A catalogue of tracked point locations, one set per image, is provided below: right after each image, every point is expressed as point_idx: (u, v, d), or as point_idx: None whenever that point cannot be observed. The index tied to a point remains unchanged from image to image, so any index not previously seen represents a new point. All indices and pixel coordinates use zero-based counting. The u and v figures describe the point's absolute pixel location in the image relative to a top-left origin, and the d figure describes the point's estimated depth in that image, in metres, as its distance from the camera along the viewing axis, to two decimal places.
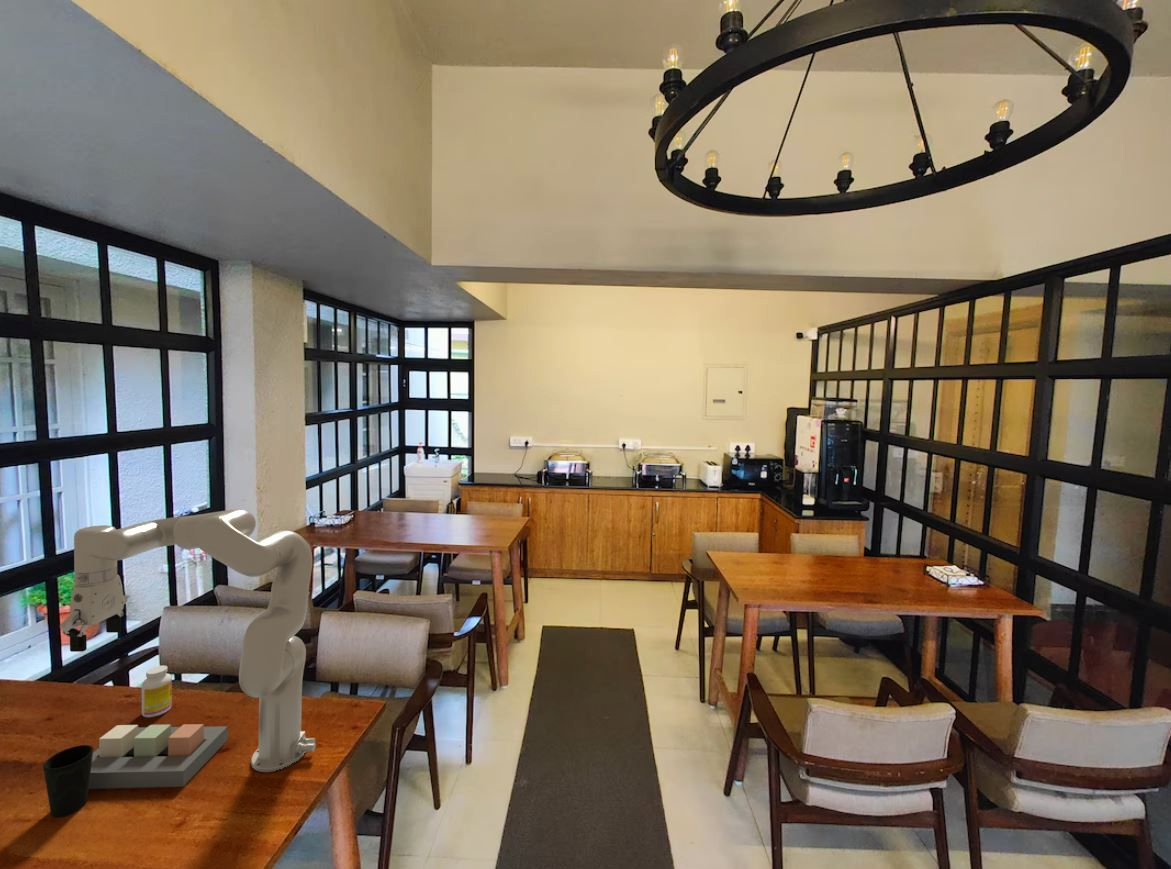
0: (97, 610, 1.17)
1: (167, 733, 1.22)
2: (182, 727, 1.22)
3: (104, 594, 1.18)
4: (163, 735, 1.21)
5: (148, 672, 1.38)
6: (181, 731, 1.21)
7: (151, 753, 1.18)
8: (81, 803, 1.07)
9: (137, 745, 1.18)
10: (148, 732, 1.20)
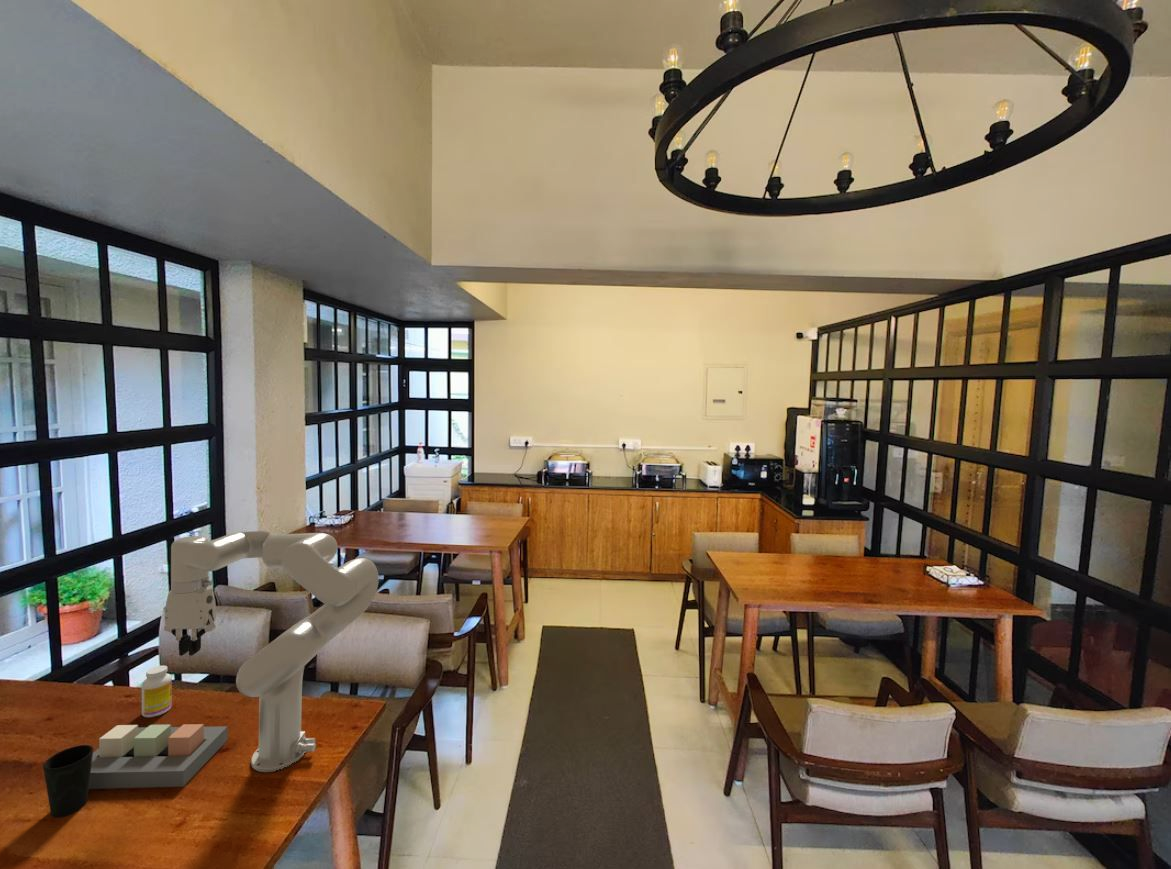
0: None
1: (167, 733, 1.22)
2: (182, 727, 1.22)
3: None
4: (163, 735, 1.21)
5: (148, 672, 1.38)
6: (181, 731, 1.21)
7: (151, 753, 1.18)
8: (81, 803, 1.07)
9: (137, 745, 1.18)
10: (148, 732, 1.20)
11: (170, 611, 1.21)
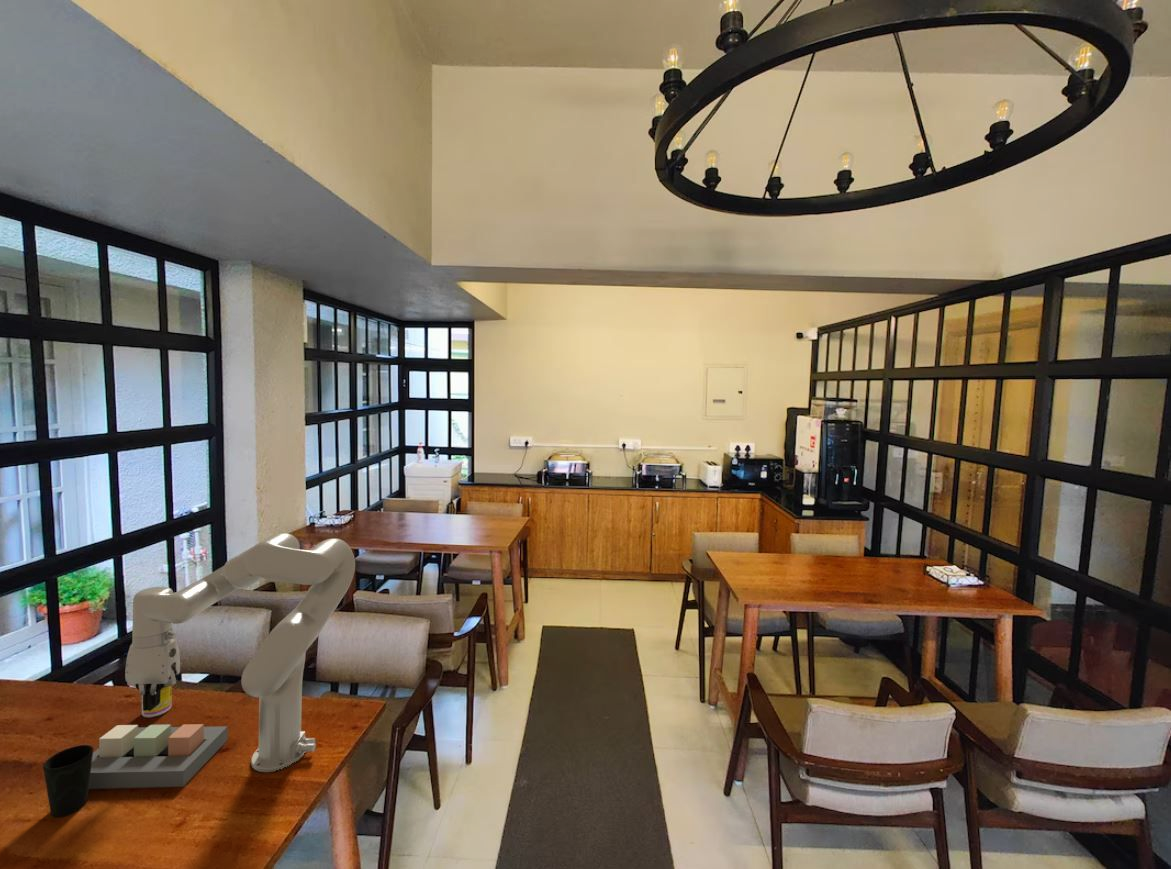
0: None
1: (167, 733, 1.22)
2: (182, 727, 1.22)
3: None
4: (163, 735, 1.21)
5: None
6: (181, 731, 1.21)
7: (151, 753, 1.18)
8: (81, 803, 1.07)
9: (137, 745, 1.18)
10: (148, 732, 1.20)
11: (131, 665, 1.17)
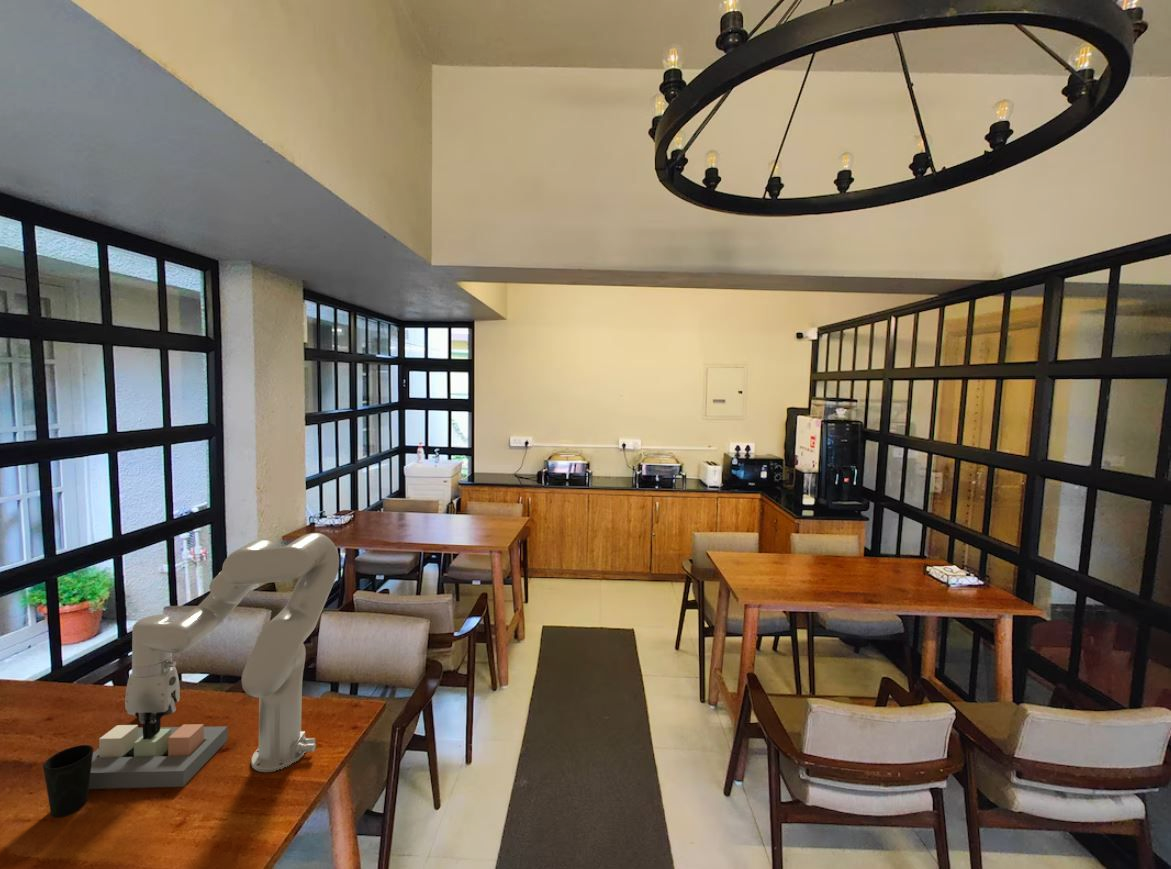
0: None
1: (167, 738, 1.22)
2: (182, 727, 1.22)
3: None
4: (163, 739, 1.21)
5: None
6: (181, 731, 1.21)
7: None
8: (81, 803, 1.07)
9: (137, 749, 1.18)
10: None
11: (131, 695, 1.17)
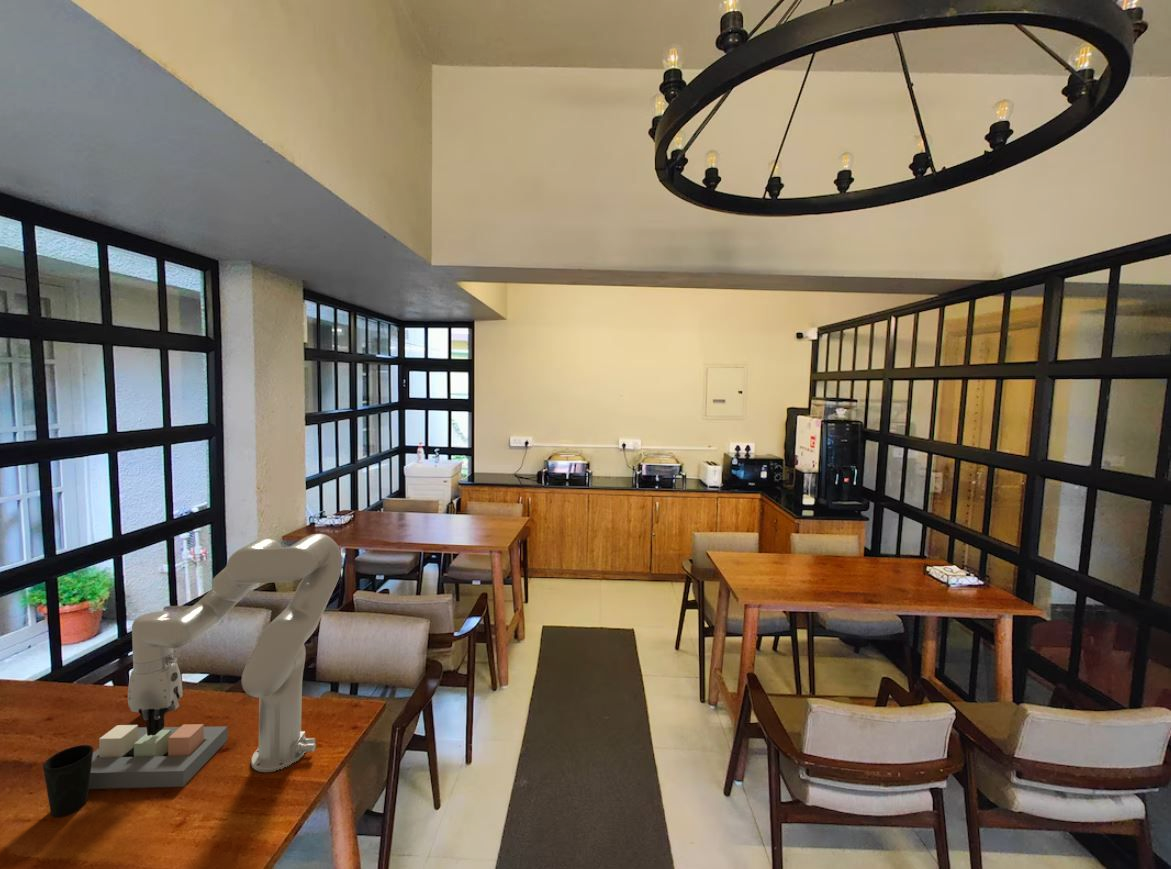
0: None
1: (167, 739, 1.22)
2: (182, 727, 1.22)
3: None
4: (163, 740, 1.21)
5: None
6: (181, 731, 1.21)
7: None
8: (81, 803, 1.07)
9: (137, 750, 1.18)
10: (148, 737, 1.20)
11: (133, 691, 1.17)
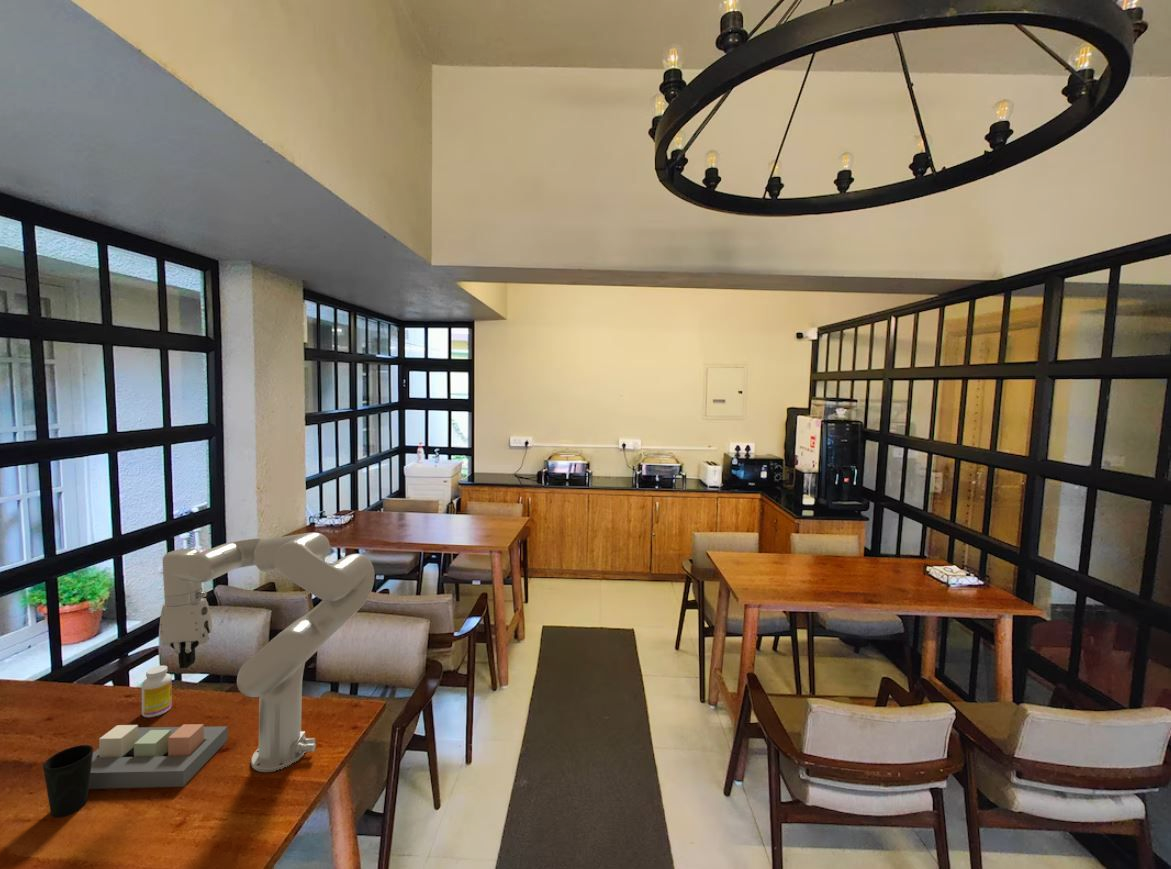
0: None
1: (167, 739, 1.22)
2: (182, 727, 1.22)
3: None
4: (163, 740, 1.21)
5: (148, 672, 1.38)
6: (181, 731, 1.21)
7: None
8: (81, 803, 1.07)
9: (137, 750, 1.18)
10: (148, 737, 1.20)
11: (165, 625, 1.21)
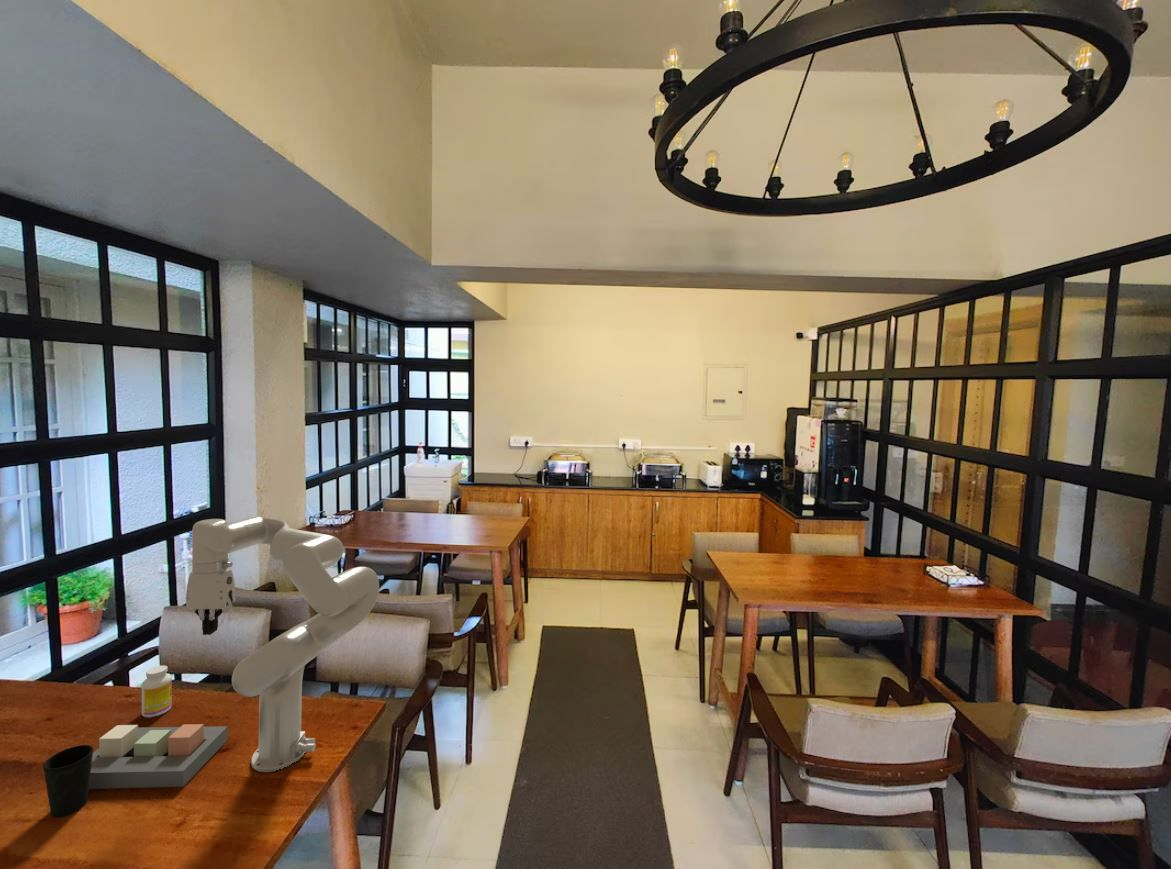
0: None
1: (167, 739, 1.22)
2: (182, 727, 1.22)
3: None
4: (163, 740, 1.21)
5: (148, 672, 1.38)
6: (181, 731, 1.21)
7: None
8: (81, 803, 1.07)
9: (137, 750, 1.18)
10: (148, 737, 1.20)
11: (191, 591, 1.24)
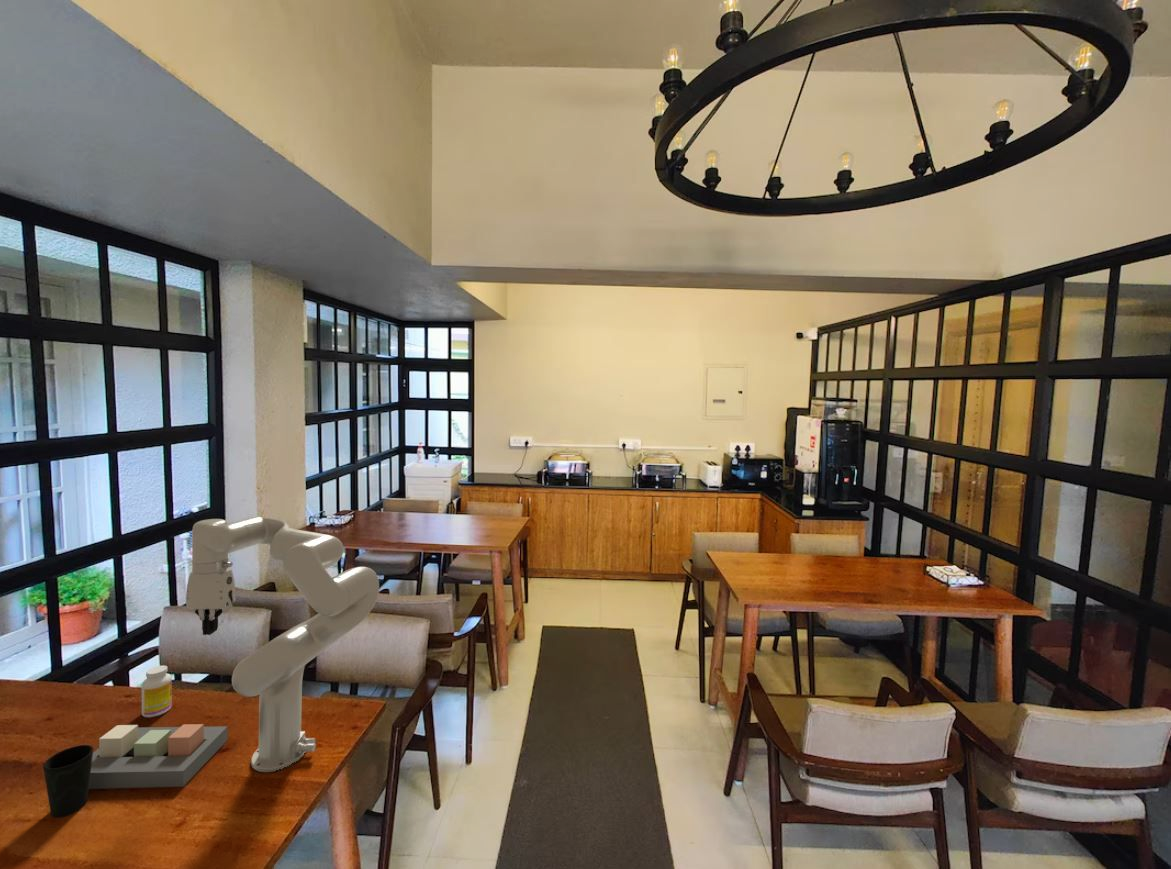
0: None
1: (167, 739, 1.22)
2: (182, 727, 1.22)
3: None
4: (163, 740, 1.21)
5: (148, 672, 1.38)
6: (181, 731, 1.21)
7: None
8: (81, 803, 1.07)
9: (137, 750, 1.18)
10: (148, 737, 1.20)
11: (191, 591, 1.24)
